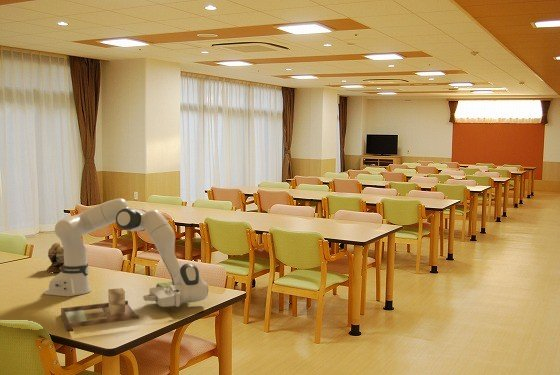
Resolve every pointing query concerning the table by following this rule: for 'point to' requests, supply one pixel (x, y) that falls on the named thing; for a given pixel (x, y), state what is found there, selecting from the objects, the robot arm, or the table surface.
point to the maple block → (116, 301)
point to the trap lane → (93, 315)
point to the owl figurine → (56, 258)
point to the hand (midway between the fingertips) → (143, 298)
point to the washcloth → (164, 285)
